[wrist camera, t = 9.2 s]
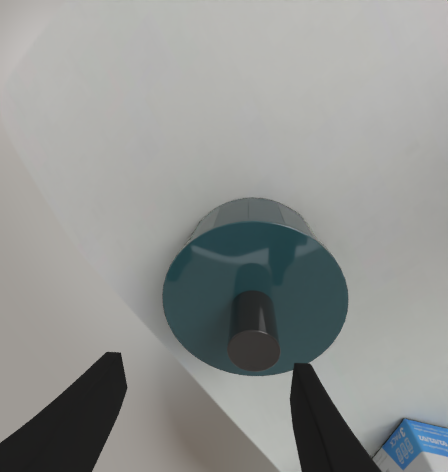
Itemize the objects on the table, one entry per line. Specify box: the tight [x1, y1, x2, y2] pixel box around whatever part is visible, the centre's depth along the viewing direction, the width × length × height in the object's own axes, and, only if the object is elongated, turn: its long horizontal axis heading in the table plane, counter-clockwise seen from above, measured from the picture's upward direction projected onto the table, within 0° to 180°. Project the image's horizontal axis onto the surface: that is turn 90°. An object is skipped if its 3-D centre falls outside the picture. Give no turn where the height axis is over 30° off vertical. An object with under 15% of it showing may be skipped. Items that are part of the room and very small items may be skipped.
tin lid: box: [162, 218, 348, 376], centre depth 14 cm, size 10×10×4 cm
